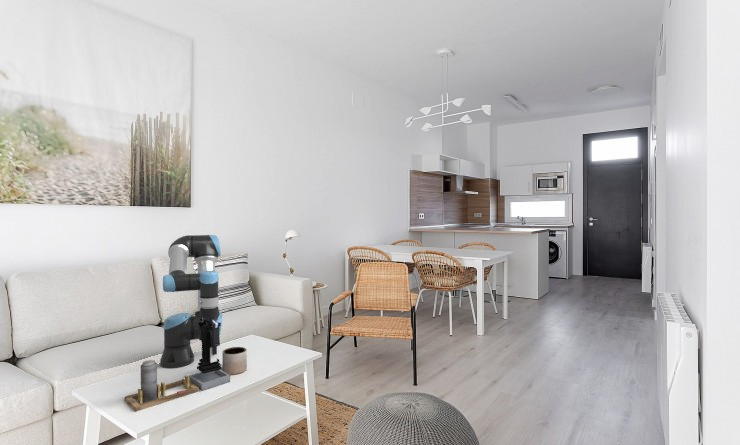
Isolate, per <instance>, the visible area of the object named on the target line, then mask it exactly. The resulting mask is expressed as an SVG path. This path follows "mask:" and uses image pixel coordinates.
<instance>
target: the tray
mask: <svg viewBox="0 0 740 445" xmlns="http://www.w3.org/2000/svg"><path fill="white" fill-rule="evenodd" d="M188 377H189V382H191V383H192V384H194V385H195V386H197V387H198V388H199V391H201V392H204V391H206V390H209V389H213V388H216V387H219V386H223V385H225V384H228V383H231V375H229V374H227V373H225V372H224V371H222V369H221V370H217V371H213V372H208V373H204V374H203V373H201V372H200V371H199V372H196V373H193V374H190V375H188Z"/></svg>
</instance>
